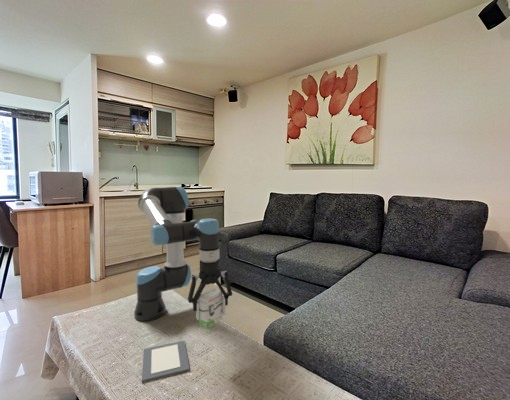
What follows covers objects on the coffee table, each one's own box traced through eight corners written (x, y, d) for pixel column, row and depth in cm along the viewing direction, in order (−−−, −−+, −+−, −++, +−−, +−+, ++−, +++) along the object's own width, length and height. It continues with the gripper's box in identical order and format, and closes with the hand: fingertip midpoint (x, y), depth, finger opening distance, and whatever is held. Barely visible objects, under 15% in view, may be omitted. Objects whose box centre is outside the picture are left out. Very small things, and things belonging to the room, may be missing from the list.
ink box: (207, 329, 100) (206, 299, 99) (198, 325, 103) (197, 295, 102) (223, 319, 107) (222, 290, 106) (214, 315, 110) (213, 287, 109)
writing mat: (143, 350, 110) (143, 348, 109) (184, 342, 115) (184, 339, 115) (141, 382, 93) (141, 379, 93) (189, 370, 98) (189, 368, 98)
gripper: (180, 266, 95) (182, 326, 97) (240, 259, 103) (241, 315, 105) (178, 260, 102) (180, 316, 104) (234, 253, 110) (235, 306, 112)
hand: (210, 315), depth 105 cm, fingers closed on ink box, 9 cm apart
